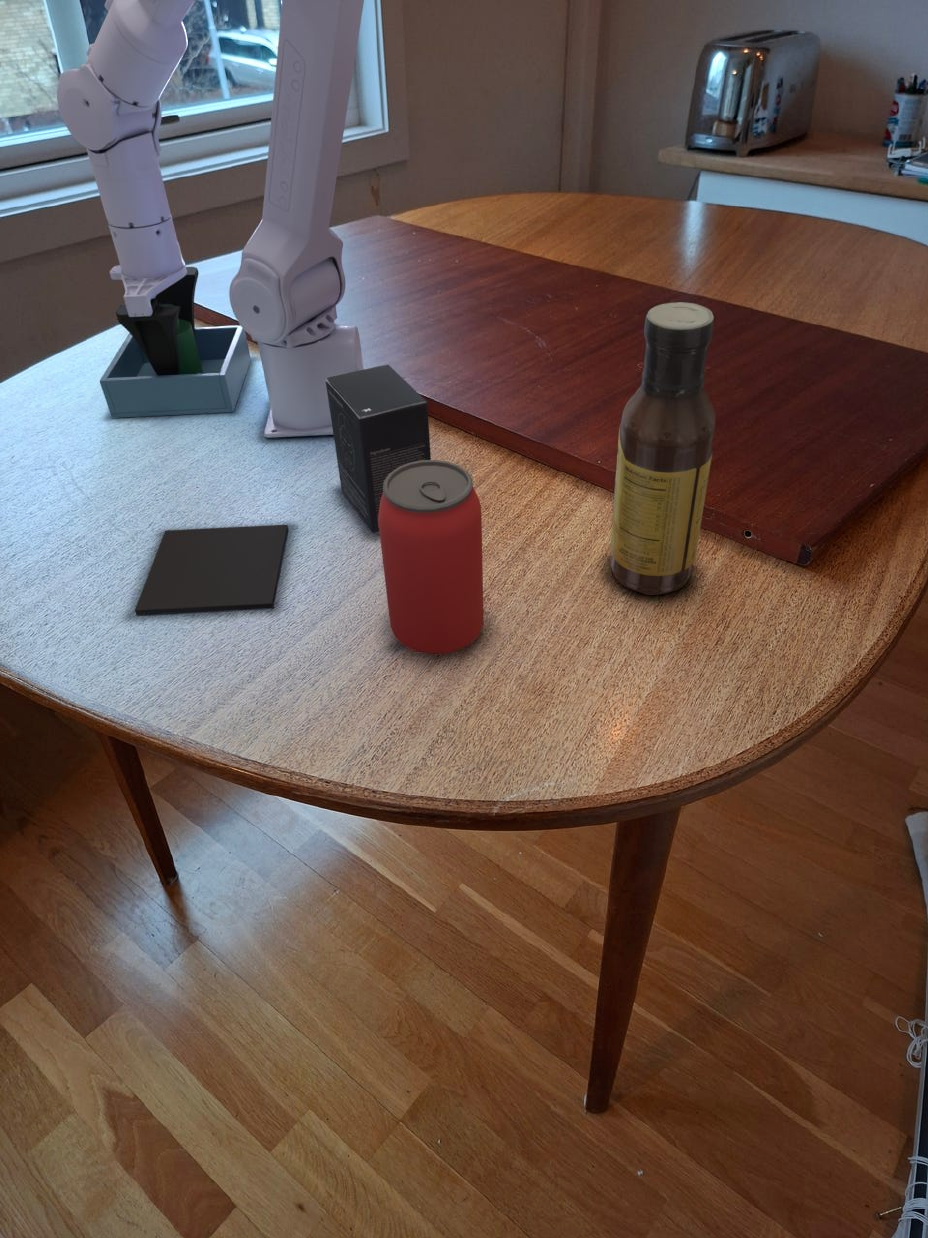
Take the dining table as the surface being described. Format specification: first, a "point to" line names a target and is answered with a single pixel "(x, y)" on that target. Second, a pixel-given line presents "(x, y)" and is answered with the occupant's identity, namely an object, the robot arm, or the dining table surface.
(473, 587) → the beer can
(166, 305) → the bottle
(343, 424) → the box
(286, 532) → the mat
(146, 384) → the case
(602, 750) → the dining table surface
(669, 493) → the sauce bottle
